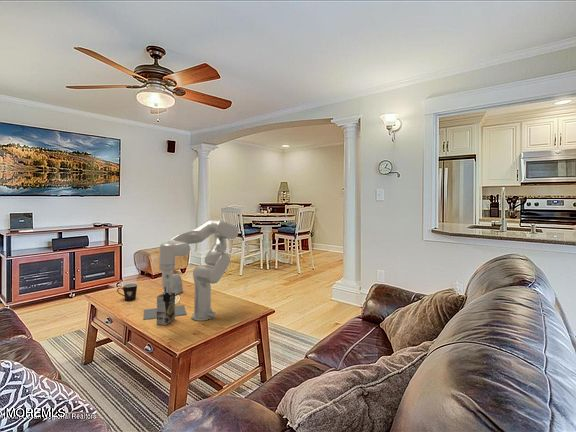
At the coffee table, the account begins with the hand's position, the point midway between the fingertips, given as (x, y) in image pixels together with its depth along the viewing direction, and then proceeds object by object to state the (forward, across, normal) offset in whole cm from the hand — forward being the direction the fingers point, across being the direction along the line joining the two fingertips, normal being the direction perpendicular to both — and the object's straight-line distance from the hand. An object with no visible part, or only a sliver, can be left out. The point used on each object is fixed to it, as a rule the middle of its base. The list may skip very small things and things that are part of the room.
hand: (166, 301), depth 164 cm
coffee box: (+17, +16, -1) cm, 23 cm away
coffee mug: (+17, +62, +21) cm, 68 cm away
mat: (+17, +30, -1) cm, 34 cm away
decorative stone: (+17, +65, -10) cm, 68 cm away
